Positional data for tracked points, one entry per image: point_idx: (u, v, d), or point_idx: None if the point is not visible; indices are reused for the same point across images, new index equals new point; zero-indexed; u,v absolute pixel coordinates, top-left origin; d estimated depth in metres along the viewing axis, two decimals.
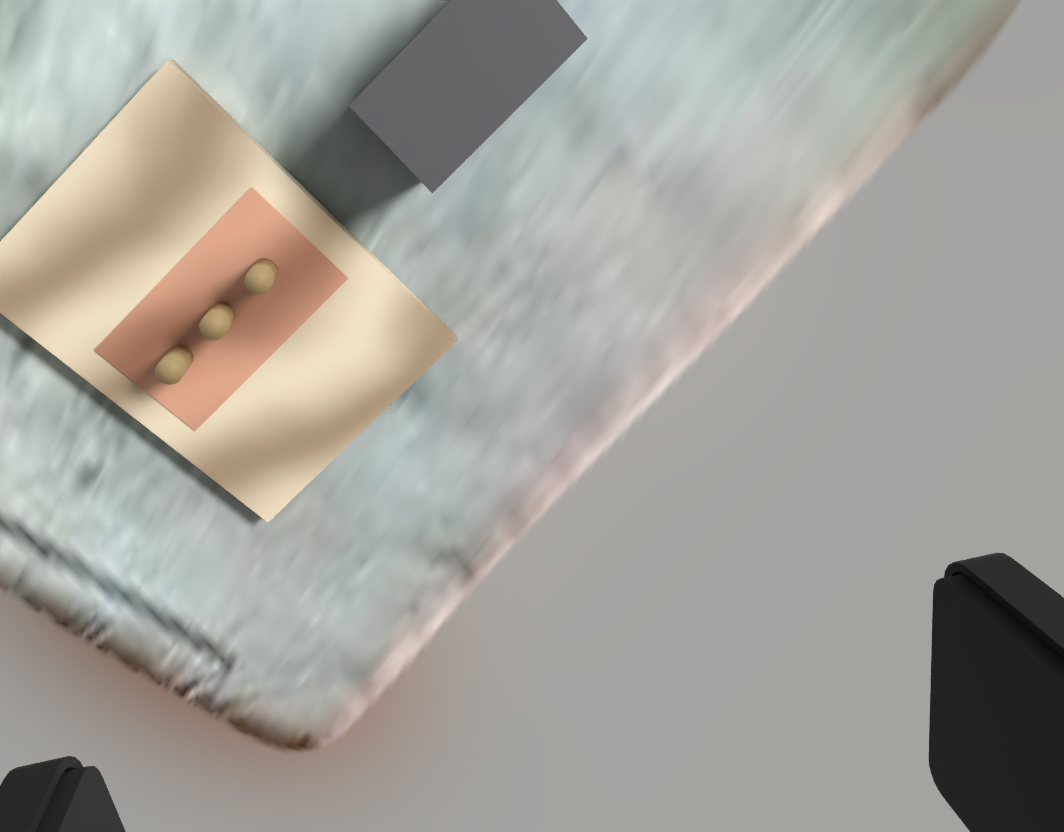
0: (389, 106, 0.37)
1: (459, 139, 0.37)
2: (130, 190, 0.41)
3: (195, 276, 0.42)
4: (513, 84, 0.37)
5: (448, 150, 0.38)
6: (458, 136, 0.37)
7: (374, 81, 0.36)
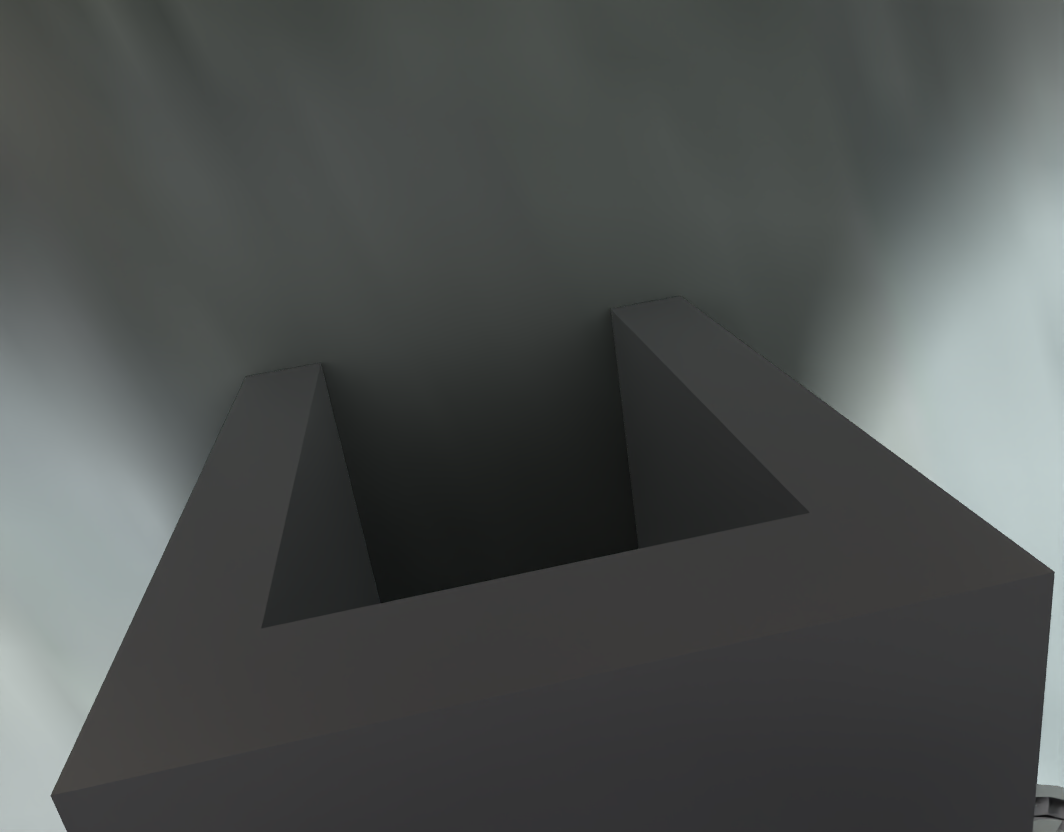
0: (836, 806, 0.05)
1: None
2: None
3: None
4: None
5: None
6: None
7: (1021, 792, 0.05)
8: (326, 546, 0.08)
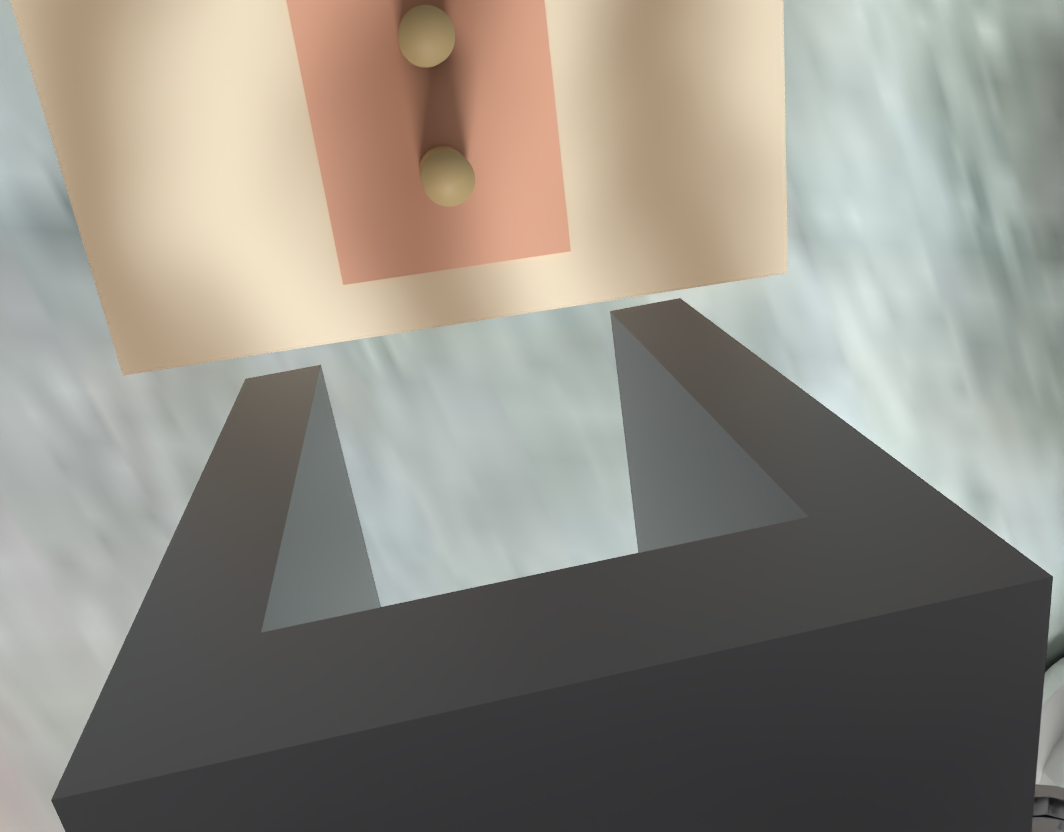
0: (836, 810, 0.05)
1: None
2: (692, 74, 0.23)
3: (511, 52, 0.22)
4: None
5: None
6: None
7: (1019, 797, 0.05)
8: (326, 549, 0.08)
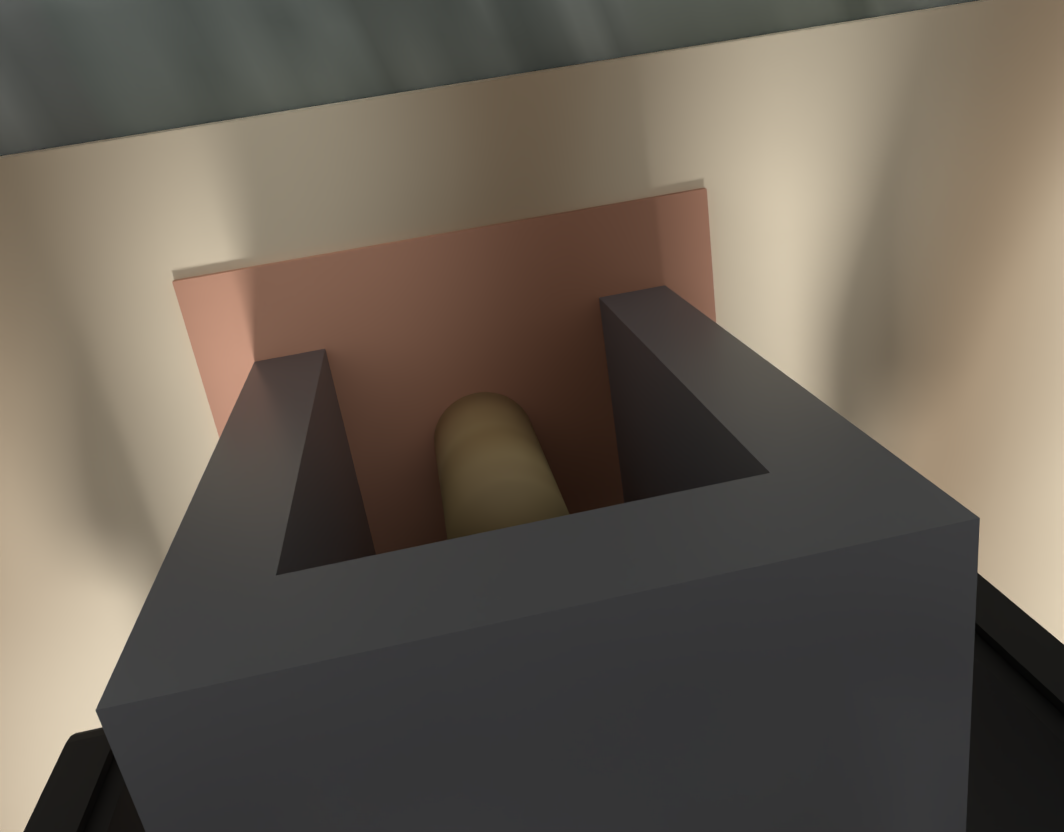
0: (790, 730, 0.05)
1: None
2: None
3: None
4: None
5: None
6: None
7: (957, 721, 0.06)
8: (331, 516, 0.08)
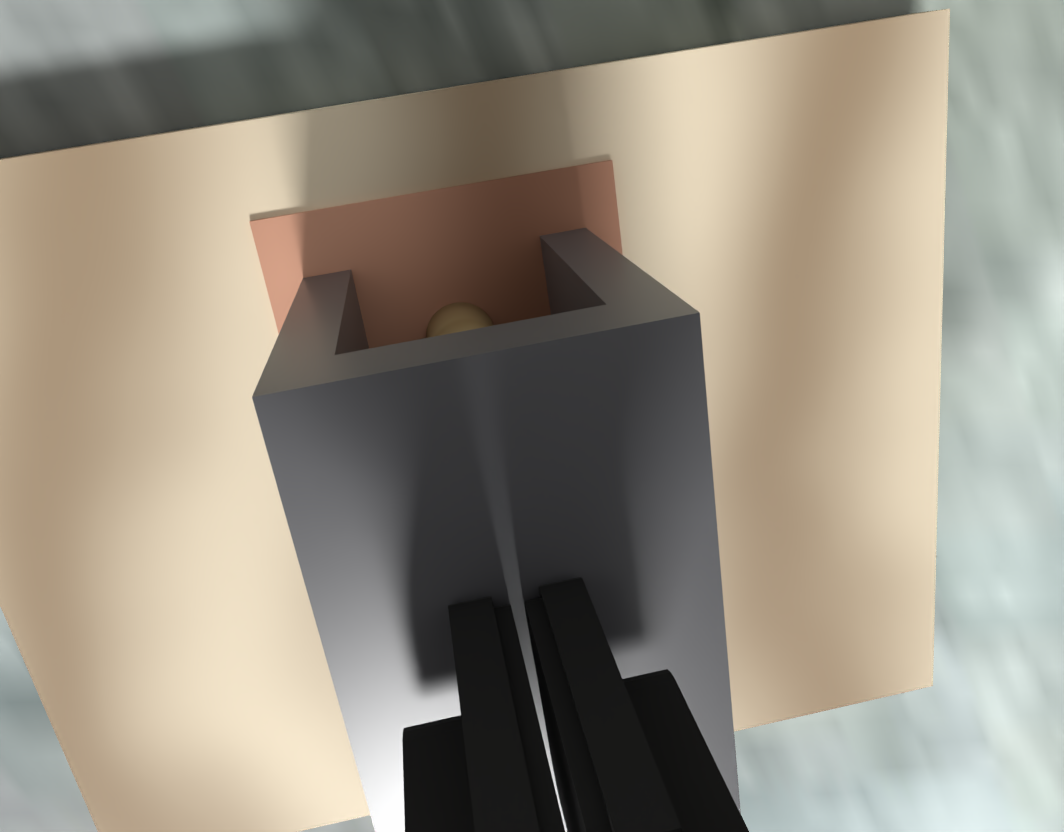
0: (609, 433, 0.10)
1: (374, 577, 0.10)
2: (824, 491, 0.18)
3: None
4: None
5: (362, 529, 0.10)
6: (385, 579, 0.10)
7: (703, 434, 0.10)
8: None
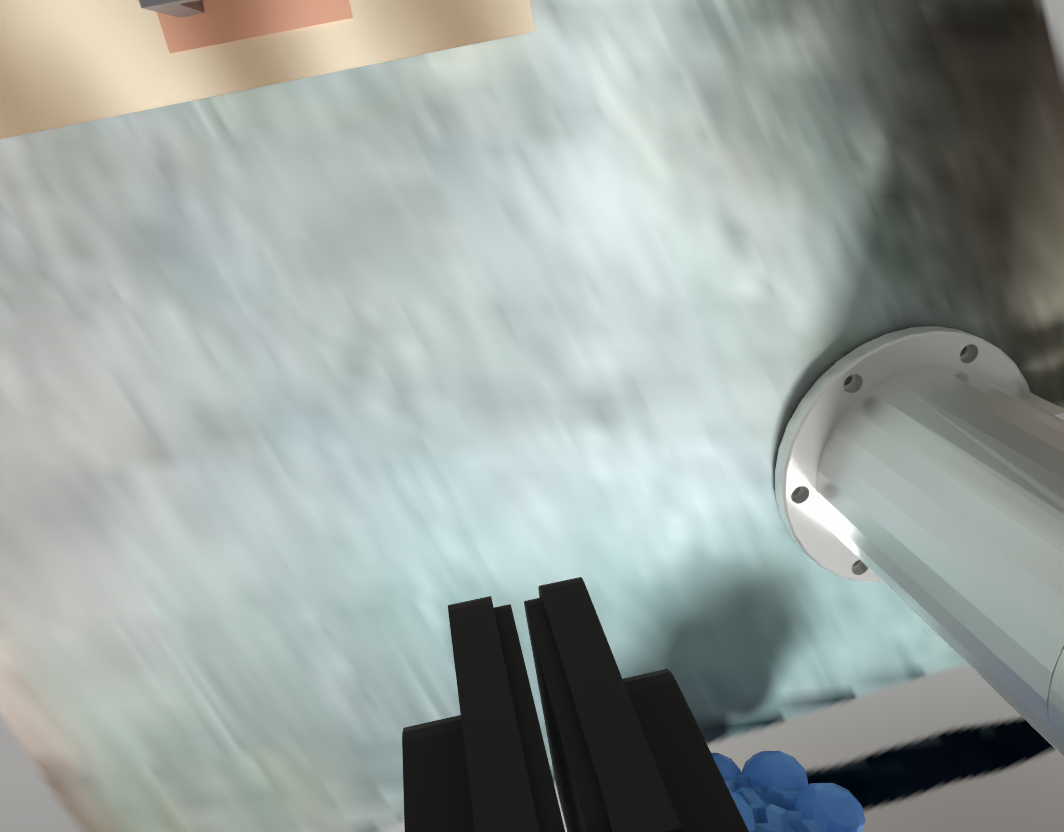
0: None
1: None
2: None
3: None
4: None
5: None
6: None
7: None
8: None
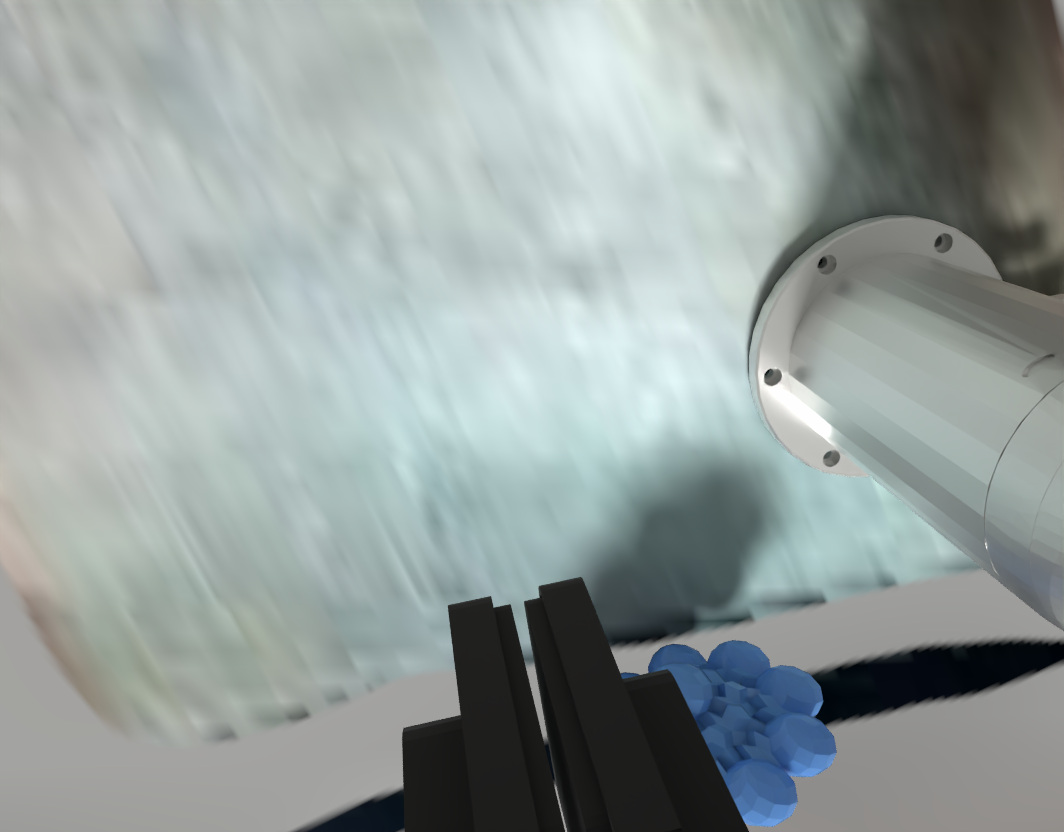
0: None
1: None
2: None
3: None
4: None
5: None
6: None
7: None
8: None
